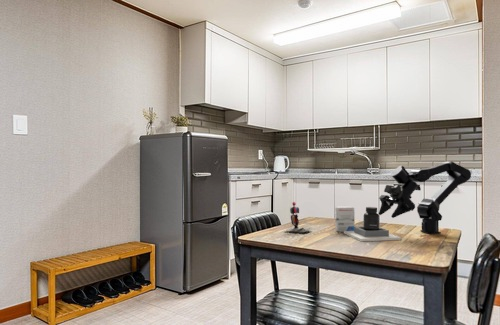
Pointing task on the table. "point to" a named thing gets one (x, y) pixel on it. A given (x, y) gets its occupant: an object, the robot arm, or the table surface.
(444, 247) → the table surface
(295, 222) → the statue
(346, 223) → the ink box
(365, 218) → the supplement bottle
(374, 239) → the pocket plate
